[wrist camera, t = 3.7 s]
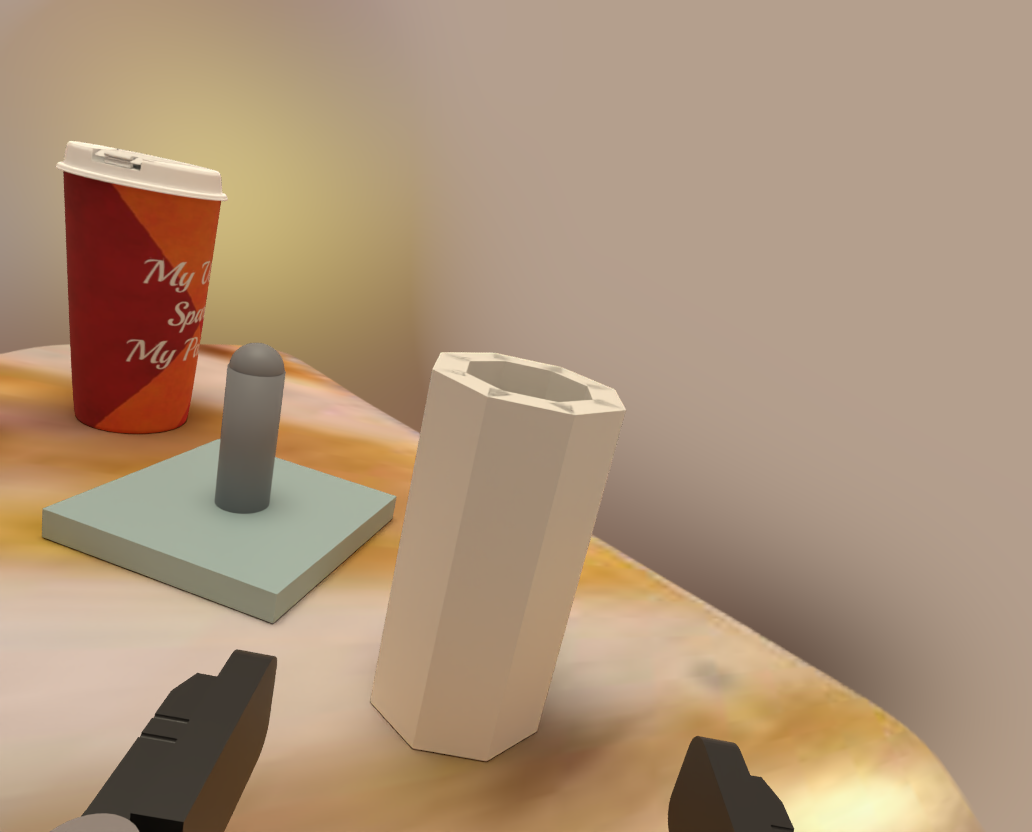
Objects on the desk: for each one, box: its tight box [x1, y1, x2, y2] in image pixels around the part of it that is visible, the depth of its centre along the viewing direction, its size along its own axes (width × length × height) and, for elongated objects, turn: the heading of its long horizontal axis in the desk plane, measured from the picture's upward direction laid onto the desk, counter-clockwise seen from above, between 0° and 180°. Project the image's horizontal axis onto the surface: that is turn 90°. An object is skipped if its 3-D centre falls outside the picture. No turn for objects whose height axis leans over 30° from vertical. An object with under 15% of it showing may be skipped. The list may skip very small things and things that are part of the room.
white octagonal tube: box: [370, 352, 626, 761], centre depth 21 cm, size 5×5×11 cm
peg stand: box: [42, 343, 396, 623], centre depth 28 cm, size 10×10×8 cm
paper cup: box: [56, 141, 228, 434], centre depth 36 cm, size 8×8×14 cm
